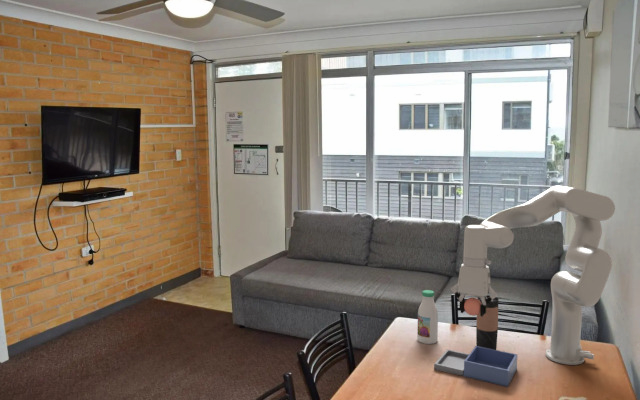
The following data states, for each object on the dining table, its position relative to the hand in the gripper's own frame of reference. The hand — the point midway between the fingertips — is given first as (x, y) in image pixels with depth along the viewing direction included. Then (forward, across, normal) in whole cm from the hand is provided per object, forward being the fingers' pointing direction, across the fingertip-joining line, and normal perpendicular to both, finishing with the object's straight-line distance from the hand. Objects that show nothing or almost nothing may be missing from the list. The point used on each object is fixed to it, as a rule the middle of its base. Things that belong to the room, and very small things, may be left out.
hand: (472, 313), depth 176 cm
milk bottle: (+20, +21, -16) cm, 33 cm away
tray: (+20, +6, -1) cm, 21 cm away
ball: (-2, 0, 0) cm, 2 cm away
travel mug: (+20, -1, -19) cm, 28 cm away
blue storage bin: (+20, -7, 0) cm, 21 cm away
